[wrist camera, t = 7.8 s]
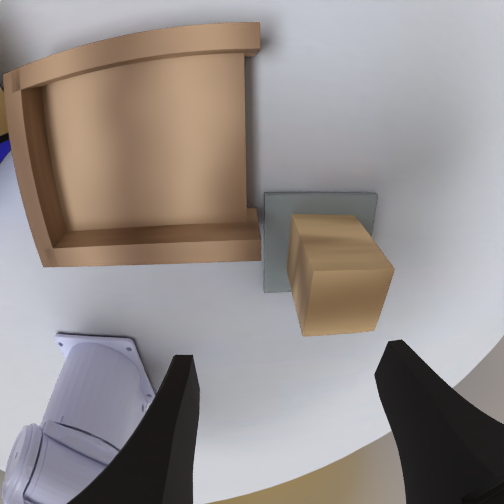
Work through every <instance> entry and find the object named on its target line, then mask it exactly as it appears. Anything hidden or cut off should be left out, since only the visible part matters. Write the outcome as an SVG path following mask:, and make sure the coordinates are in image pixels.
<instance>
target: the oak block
mask: <svg viewBox="0 0 504 504" xmlns="http://www.w3.org/2000/svg"><path fill="white" fill-rule="evenodd" d="M286 271H287V275H288V279H289V283H290V287H291V291H292V295H293V299H294V303H295V307H296V311H297V315H298V319H299V323H300V328H301V332H302V336H303V337H304V336H320V335H334V334H347V333H358V332H368V331H374V330H375V327H376V325H377V322H378V319H379V316H380V313H381V310H382V307H383V305H384V302H385V298H386V295H387V292H388V289H389V286H390V283H391V280H392V276H393V273H394V267H393V266H392V265H391V263H390V262H389V260H388V259H387V258H386V256H385V255H384V253H383V252H382V251H381V249H380V248H379V247H378V245H377V244H376V243H375V241H374V240H373V239H372V237H371V236H370V235H369V233H368V232H367V231H366V229H365V228H364V227H363V226H362V224H361V223H360V222H359V220H358V219H357V218H356V217H355V215H330V214H291V225H290V237H289V248H288V259H287V270H286Z"/></svg>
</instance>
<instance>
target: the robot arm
mask: <svg viewBox="0 0 504 504" xmlns="http://www.w3.org/2000/svg"><path fill="white" fill-rule="evenodd" d="M54 340H55V342H56V343H57V345H58V347H59V349H60V351H61V352H62V354H63V356H64V358H65V359H66V361H65V363H64V365H63V368H62V370H61V373H60V375H59V378H58V380H57V383H56V385H55V388H54V390H53V393H52V395H51V398H50V401H49V403H48V406H47V409H46V412H45V414H44V417H43V420H42V423H41V425H39V426H38V425H36V424H34V423H32V424H30V425H27V426H24V427H23V428H22V430H21V431H20V433H19V435H18V436H17V438H16V441H15V443H14V445H13V448H12V450H11V453H10V456H9V459H8V463H7V467H6V472H5V479H4V482H3V486H2V500H3V504H193V462H194V453H195V445H196V436H197V428H198V420H199V400H200V388H199V383H198V378H197V373H196V368H195V364H194V359H193V355H175V356H174V357H173V359H172V361H171V364H170V366H169V369H168V371H167V373H166V375H165V378H164V380H163V382H162V384H161V386H160V388H159V390H158V392H157V394H156V395H155V393H154V391H153V389H152V386H151V384H150V382H149V379H148V377H147V374H146V372H145V370H144V367H143V365H142V362H141V360H140V357H139V354H138V352H137V349H136V347H135V344H134V342H133V340H131V339H129V338H113V337H94V336H79V335H65V334H56V335H55V337H54ZM374 375H375V380H376V384H377V389H378V393H379V397H380V400H381V402H382V405H383V408H384V411H385V413H386V416H387V419H388V421H389V424H390V427H391V430H392V432H393V435H394V438H395V440H396V444H397V447H398V451H399V456H400V460H401V465H402V471H403V477H404V484H405V493H406V504H504V424H502V423H500V422H498V421H496V420H495V419H493V418H491V417H490V416H488V415H487V414H485V413H483V412H482V411H480V410H479V409H478V408H476V407H475V406H474V405H472V404H471V403H469V402H468V401H467V400H465V399H464V398H463V397H462V396H460V395H459V394H458V393H457V392H456V391H455V390H454V389H452V388H451V387H450V386H449V385H448V384H447V383H446V382H445V381H444V380H443V379H441V378H440V377H439V376H438V375H437V374H436V373H435V372H434V371H433V370H432V369H431V368H430V367H429V366H428V365H427V364H426V363H425V362H424V361H423V360H422V359H421V358H420V357H419V356H418V355H417V354H416V353H415V352H414V351H413V350H412V349H411V348H410V347H409V346H408V345H407V344H406V343H405V342H404V341H403V340H402V339H401V340H395V341H388V344H387V346H386V349H385V351H384V353H383V356H382V358H381V360H380V363H379V365H378V367H377V370H376V372H375V374H374ZM147 403H151V405H150V406H149V408H148V410H147V412H146V408H147Z"/></svg>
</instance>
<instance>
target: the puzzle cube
mask: <svg viewBox="0 0 504 504" xmlns="http://www.w3.org/2000/svg"><path fill="white" fill-rule="evenodd" d="M10 150H11V145H10V139H9V132H8V125H7V117H6V108H5V98H4V92H3V90H2V88H1V87H0V163H1V161H2V160H3V159H4V157H5V156H6V155H7V154H8V152H9V151H10Z"/></svg>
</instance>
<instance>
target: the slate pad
mask: <svg viewBox="0 0 504 504" xmlns="http://www.w3.org/2000/svg"><path fill="white" fill-rule="evenodd" d="M377 198H378V195H377V194H376V193H357V192H276V193H264V293H272V292H292V291H291V287H290V283H289V279H288V275H287V271H286V270H287V259H288V248H289V237H290V225H291V214H330V215H355V217H356V218H357V219H358V220H359V222H360V223H361V224H362V226H363V227H364V228H365V229H366V231H367V232H368V233H369V235H370V236H371V234H372V229H373V223H374V217H375V211H376V204H377Z"/></svg>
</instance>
